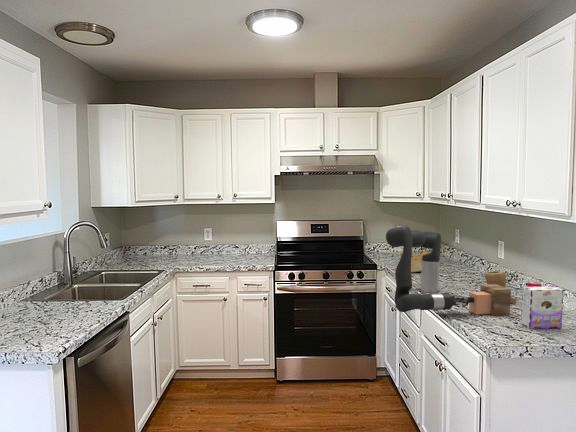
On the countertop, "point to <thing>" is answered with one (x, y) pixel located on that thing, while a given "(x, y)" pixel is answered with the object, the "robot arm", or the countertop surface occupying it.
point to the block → (481, 302)
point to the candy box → (542, 307)
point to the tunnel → (498, 298)
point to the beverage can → (533, 284)
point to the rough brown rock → (417, 261)
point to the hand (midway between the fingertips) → (473, 299)
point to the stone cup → (497, 279)
